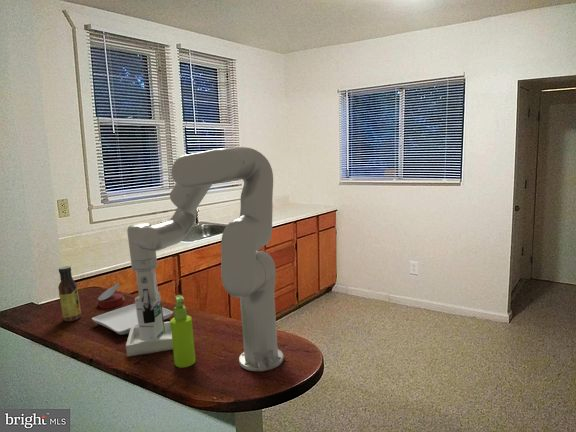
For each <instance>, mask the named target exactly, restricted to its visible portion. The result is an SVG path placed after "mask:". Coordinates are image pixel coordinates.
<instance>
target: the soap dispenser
mask: <svg viewBox="0 0 576 432" xmlns="http://www.w3.org/2000/svg"><path fill="white" fill-rule="evenodd" d="M174 299H175V306H174V307H173V316H174V317H171V319H170V324H171V334H172V343H173V349H172V352H173V360H174V366H175V367H177V368H188V367H190V366H192V365H194V364H195V363H196V360H197V359H196V351H195V349H196V348H195V337H194V331H193V330H194V329H193V319H192V316H190V315H188V313H187V306H186V305H184V304H183V303H185V298H184V297H183V295H182V294H177V295H176V294H175V295H174Z"/></svg>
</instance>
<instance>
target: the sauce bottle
mask: <svg viewBox="0 0 576 432" xmlns="http://www.w3.org/2000/svg"><path fill="white" fill-rule="evenodd" d="M58 273H59V277H60V281H59V282H60V283H59V284H58V293H59V294H58V295H59V296H58V297H59V303H60V309H61V313H62V318H63V321H65V322H68V323H69V322H74V321H77V320H80V318H81V317H82V309H81V303H80V302H81V301H80V295H79V290H78V286H77V283H76V282H75V281H74V278H73V276H72V267H71V266H62V267H59V268H58Z"/></svg>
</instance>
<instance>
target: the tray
mask: <svg viewBox="0 0 576 432" xmlns="http://www.w3.org/2000/svg"><path fill="white" fill-rule="evenodd" d="M164 327H165V334H164V335H163V336H162V337H161V338H160V339H157V340H151V341H141V340H140V333H139V326H134V327H131V329H130V333H129V334H128V337H127V341H126V342H125V350H126V351H125V352H126V356H127V357H133V356H139V355H146V354H153V353H159V352H165V351H171V350H172V351H173V343H172V334H171V324H170V321H164Z"/></svg>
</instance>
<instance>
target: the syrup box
mask: <svg viewBox="0 0 576 432" xmlns="http://www.w3.org/2000/svg"><path fill="white" fill-rule="evenodd" d="M148 300H151V299H150V298H148ZM134 304H136V312H137V319H138V326H139V333H140V340H141V341H151V340H157V339H160V338H161V337H162V336H163V335H164V334H165V327H164V322H165V320H164V319H163V311H162V307H163V305H162V297H161V291H158V292H157V300H156V301H154V300H152V305H153V309H154V315H155V322H152V323H144V318H143V302H140V298H139V295H138V296H136V297H135V298H134ZM149 304H150V302H149Z"/></svg>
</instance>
